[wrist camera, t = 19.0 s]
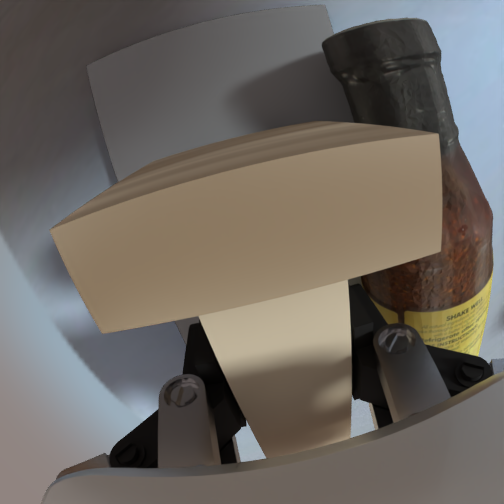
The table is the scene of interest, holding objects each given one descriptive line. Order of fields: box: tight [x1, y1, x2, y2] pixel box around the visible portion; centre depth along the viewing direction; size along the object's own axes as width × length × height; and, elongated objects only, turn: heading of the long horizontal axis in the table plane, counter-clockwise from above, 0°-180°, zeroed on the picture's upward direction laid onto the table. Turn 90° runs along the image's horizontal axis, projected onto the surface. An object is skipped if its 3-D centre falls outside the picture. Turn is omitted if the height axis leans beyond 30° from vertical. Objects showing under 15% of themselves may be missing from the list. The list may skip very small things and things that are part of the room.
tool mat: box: [86, 5, 362, 345], centre depth 14 cm, size 22×10×1 cm, turn 13°
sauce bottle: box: [322, 18, 493, 356], centre depth 11 cm, size 7×6×20 cm
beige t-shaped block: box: [50, 121, 442, 458], centre depth 10 cm, size 14×6×7 cm, turn 13°
